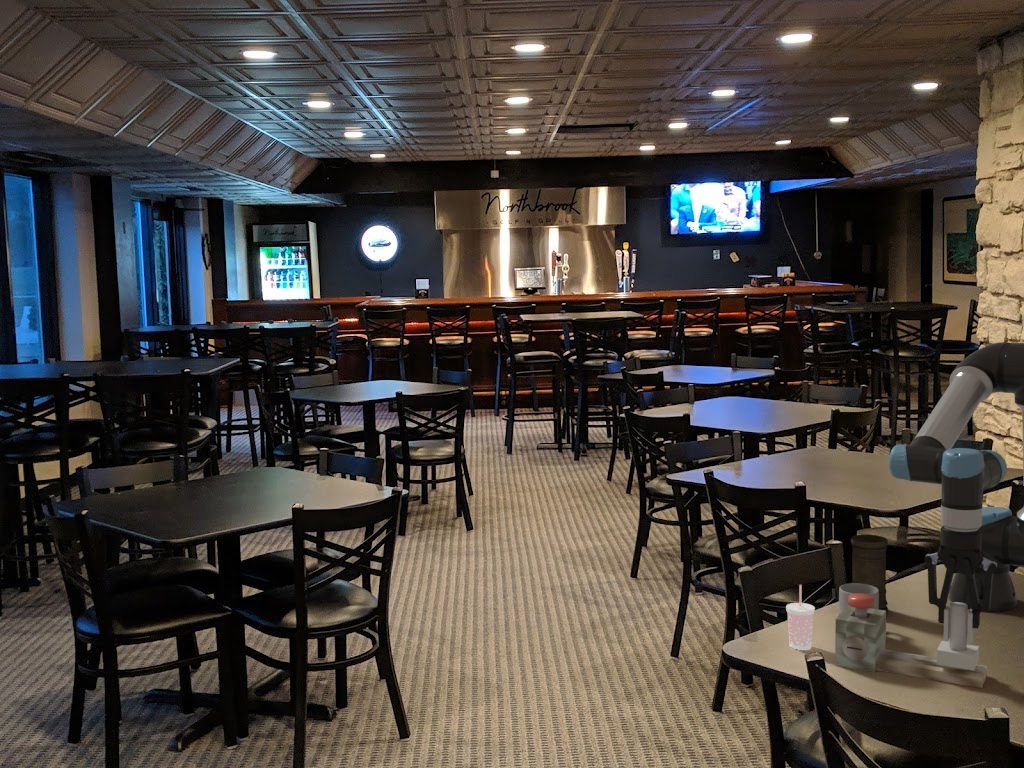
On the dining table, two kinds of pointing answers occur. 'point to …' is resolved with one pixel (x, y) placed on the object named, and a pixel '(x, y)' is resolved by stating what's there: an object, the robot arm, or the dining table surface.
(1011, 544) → the robot arm
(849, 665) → the rail rig
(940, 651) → the carriage
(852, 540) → the container
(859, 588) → the mug
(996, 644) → the dining table surface
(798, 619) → the beverage cup
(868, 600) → the button
